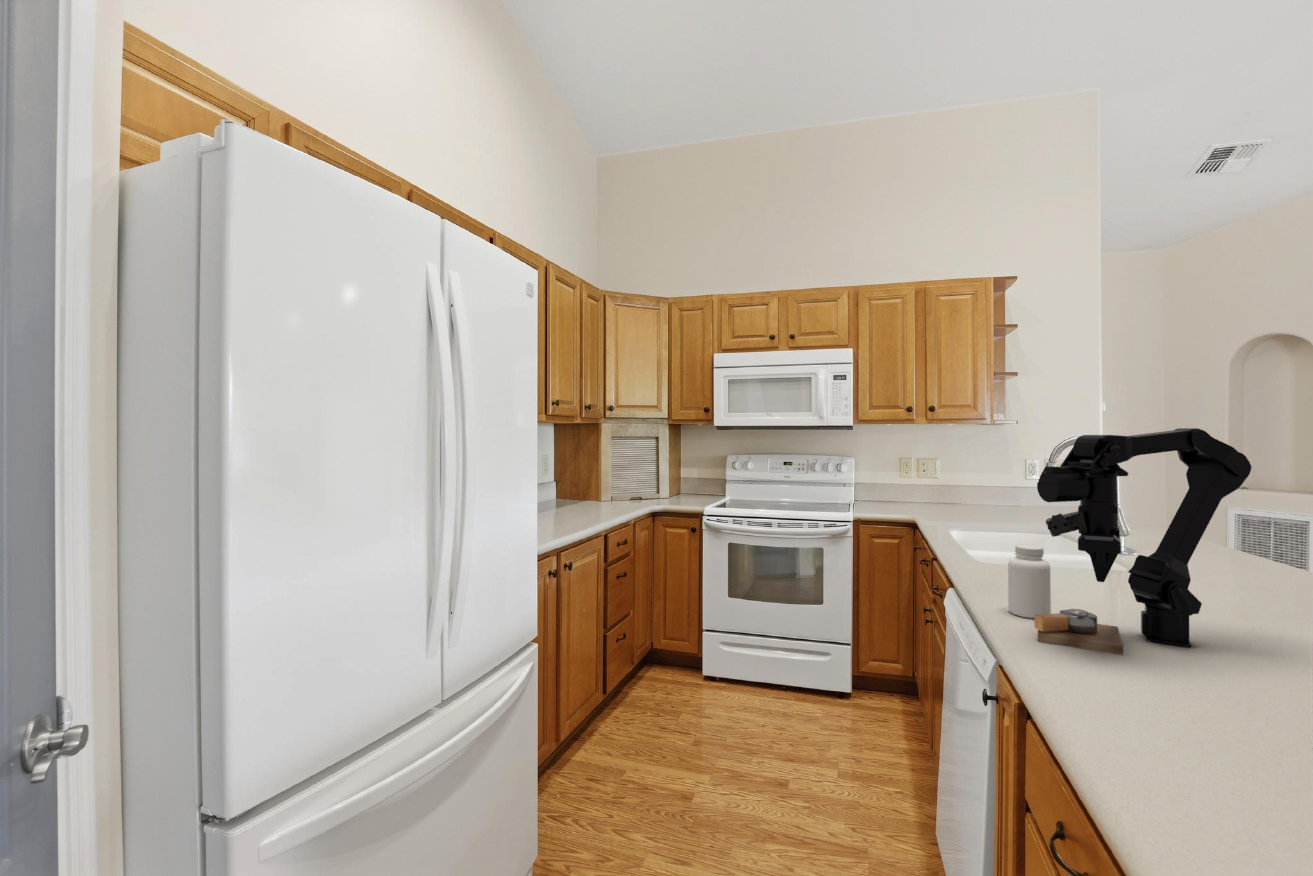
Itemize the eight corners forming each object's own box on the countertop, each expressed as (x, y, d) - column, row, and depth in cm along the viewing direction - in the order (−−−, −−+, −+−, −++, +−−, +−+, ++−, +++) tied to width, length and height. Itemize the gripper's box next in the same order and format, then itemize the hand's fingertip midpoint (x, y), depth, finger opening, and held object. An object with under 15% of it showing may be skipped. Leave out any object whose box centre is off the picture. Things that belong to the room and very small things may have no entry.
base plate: (1117, 634, 118) (1117, 625, 118) (1123, 654, 107) (1123, 644, 107) (1039, 622, 125) (1039, 614, 125) (1037, 641, 114) (1037, 631, 114)
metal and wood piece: (1079, 622, 119) (1079, 606, 119) (1105, 632, 113) (1105, 615, 113) (1027, 625, 118) (1027, 608, 118) (1050, 636, 112) (1050, 618, 112)
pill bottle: (1050, 612, 132) (1049, 545, 132) (1051, 622, 125) (1050, 551, 125) (1008, 606, 136) (1008, 542, 136) (1007, 616, 130) (1007, 548, 129)
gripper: (1051, 493, 125) (1053, 567, 125) (1044, 503, 110) (1046, 587, 111) (1118, 495, 118) (1120, 573, 119) (1119, 507, 104) (1122, 595, 104)
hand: (1100, 581), depth 113 cm, fingers closed
